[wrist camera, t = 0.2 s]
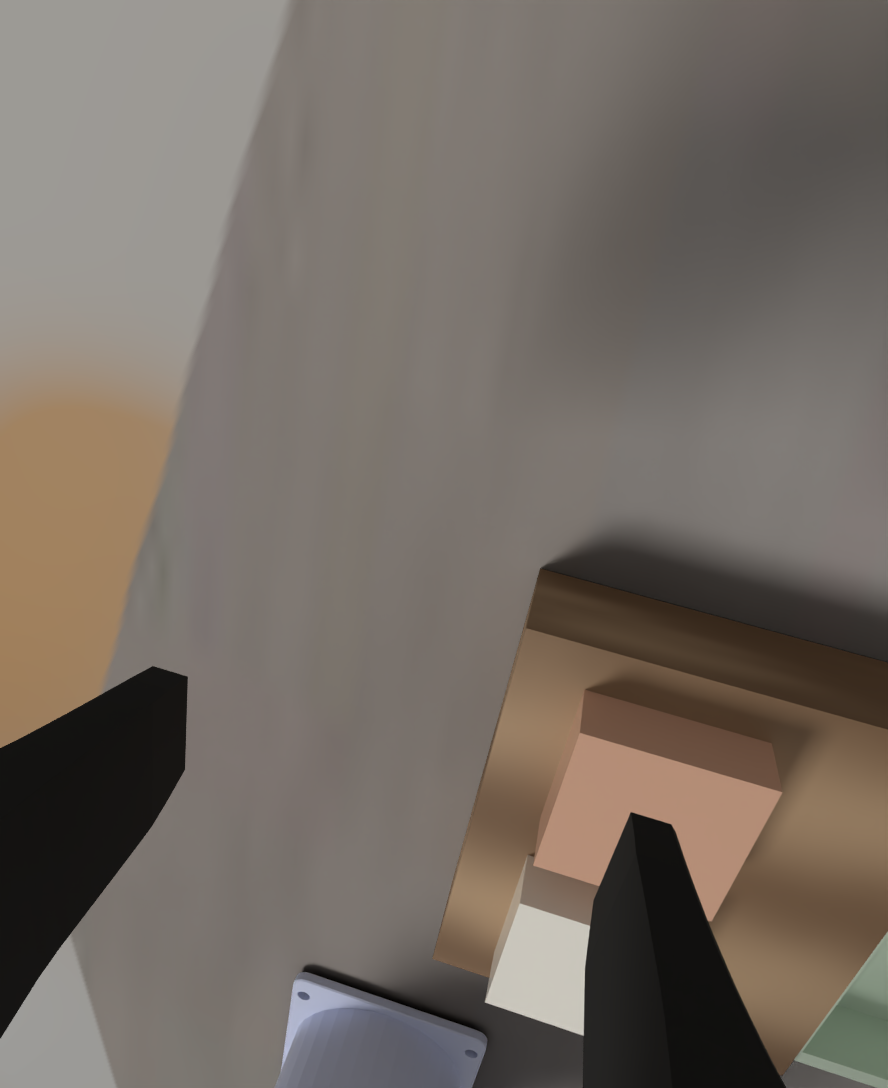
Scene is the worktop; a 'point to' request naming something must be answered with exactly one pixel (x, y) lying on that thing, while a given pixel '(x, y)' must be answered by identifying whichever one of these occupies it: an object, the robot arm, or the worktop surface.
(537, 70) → the worktop surface
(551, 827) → the terracotta tile
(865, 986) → the tray
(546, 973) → the cream tile
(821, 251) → the worktop surface
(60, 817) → the robot arm
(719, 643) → the walnut board
